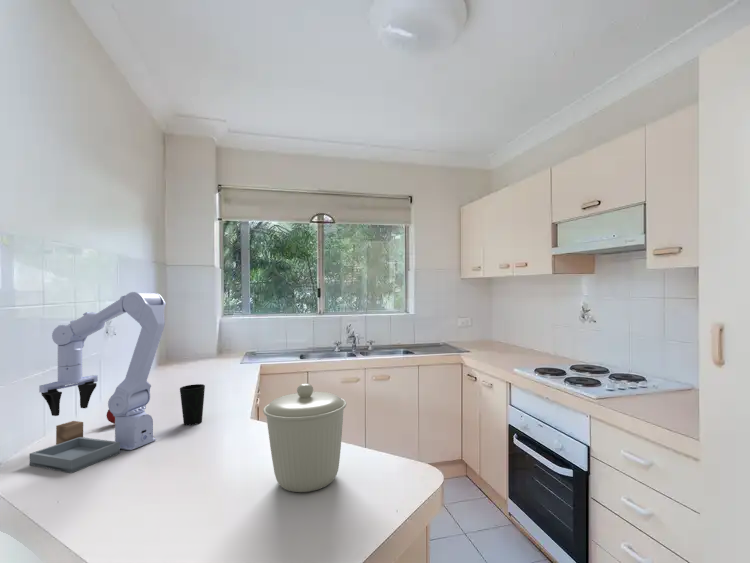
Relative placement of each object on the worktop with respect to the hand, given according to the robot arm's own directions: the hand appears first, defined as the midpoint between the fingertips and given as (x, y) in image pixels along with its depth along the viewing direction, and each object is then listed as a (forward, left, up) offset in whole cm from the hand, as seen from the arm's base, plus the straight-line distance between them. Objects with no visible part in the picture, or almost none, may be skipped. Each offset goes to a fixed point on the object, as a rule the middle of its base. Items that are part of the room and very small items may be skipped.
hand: (70, 411), depth 111 cm
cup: (-21, -25, -10) cm, 34 cm away
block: (0, 0, -9) cm, 9 cm away
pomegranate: (+4, -17, -10) cm, 20 cm away
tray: (-14, +7, -9) cm, 19 cm away
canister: (-80, +1, -10) cm, 81 cm away
